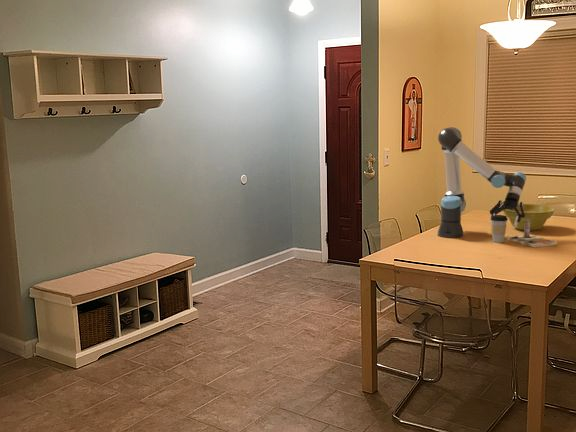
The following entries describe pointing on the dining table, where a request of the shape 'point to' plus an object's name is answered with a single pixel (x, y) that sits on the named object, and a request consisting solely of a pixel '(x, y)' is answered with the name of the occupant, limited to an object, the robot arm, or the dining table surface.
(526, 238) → the control board
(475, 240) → the dining table surface
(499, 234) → the coffee cup
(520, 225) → the planter bowl
